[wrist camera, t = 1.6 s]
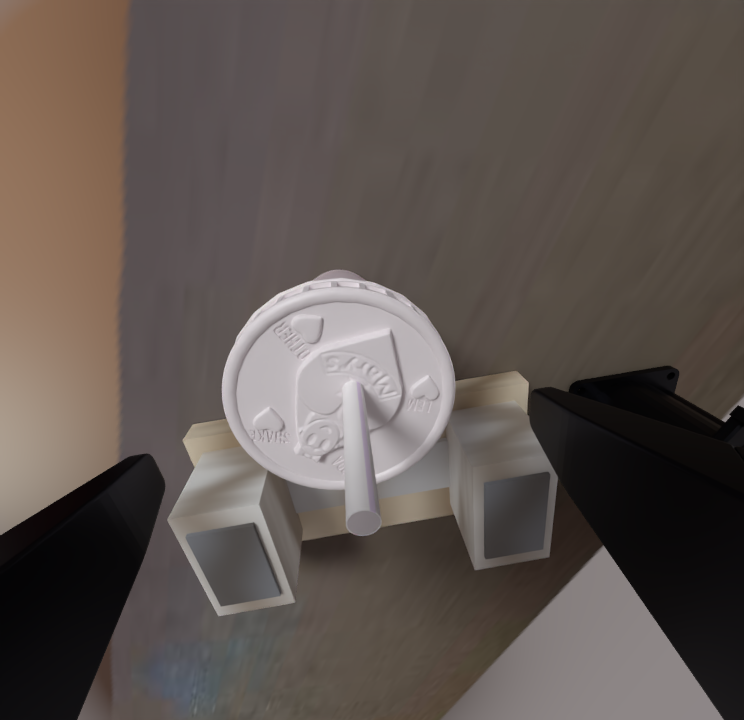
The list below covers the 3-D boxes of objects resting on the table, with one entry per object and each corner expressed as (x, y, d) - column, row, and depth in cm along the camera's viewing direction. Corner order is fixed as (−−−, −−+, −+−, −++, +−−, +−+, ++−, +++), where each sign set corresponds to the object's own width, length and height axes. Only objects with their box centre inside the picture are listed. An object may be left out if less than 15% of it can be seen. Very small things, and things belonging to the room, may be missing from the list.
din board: (516, 370, 21) (582, 433, 15) (512, 485, 25) (563, 570, 19) (192, 424, 20) (138, 509, 15) (238, 533, 24) (209, 634, 19)
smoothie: (425, 284, 18) (625, 478, 6) (360, 381, 20) (400, 686, 8) (313, 213, 16) (233, 262, 4) (255, 327, 18) (72, 613, 6)
